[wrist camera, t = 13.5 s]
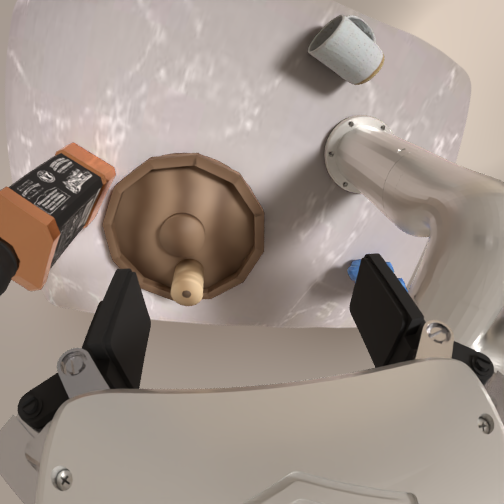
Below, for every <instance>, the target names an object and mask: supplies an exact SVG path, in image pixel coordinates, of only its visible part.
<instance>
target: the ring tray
mask: <svg viewBox="0 0 504 504" xmlns="http://www.w3.org/2000/svg"><path fill="white" fill-rule="evenodd" d="M103 228H104V232H105V236H106V240H107V243H108V247H109V250H110V254H111V257H112V260H113V262H114V263H115V264H116V265H117V266H118V267H119V268H120V269H127V268H130V269H131V270H132V272H136V274H137V278H138V281H139V285H140V288H142V289H144V290H147V291H149V292H152V293H155V294H157V295H160V296H162V297H165V298H168V299H170V300H173V298H172V297H171V287H172V282H173V277H174V272H175V267H176V265H177V263H178V262H180V261H181V260H183V259H194V260H197V261H198V262H200V263H201V264H202V266H203V268H204V284H203V297H202V299H212V298H214V297H216V296H218V295H220V294H221V293H223V292H225V291H227V290H229V289H231V288H233V287H235V286H237V285H239V284H241V283H243V282H244V281H245V279H246V278H247V276H248V275H249V273H250V272H251V270H252V269H253V267H254V266H255V264H256V263H257V261H258V260H259V258H260V257H261V255H262V254H263V252H264V211H263V208H262V207H261V205H260V203H259V202H258V200H257V199H256V197H255V195H254V193H253V192H252V190H251V188H250V187H249V186H248V184H247V183H246V182H245V180H244V179H243V177H242V176H241V174H240V173H239V172H237V171H235V170H232V169H231V168H230V167H228V166H227V165H225V164H223V163H221V162H220V161H217V160H215V159H212V158H210V157H207V156H203V155H201V154H199V153H173V154H167V155H163V156H158V157H151V158H149V159H148V160H147V161H145V162H144V163H143V164H141V165H140V166H139V167H137V168H136V169H134V170H133V171H132V172H131V173H130V174H129V175H127V176H126V177H125V178H124V179H122V180H121V181H120V182H119V183H117V185H116V186H115V187H114V189H113V192H112V195H111V198H110V201H109V204H108V208H107V211H106V214H105V217H104V221H103Z"/></svg>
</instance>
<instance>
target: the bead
mask: <svg viewBox="0 0 504 504" xmlns="http://www.w3.org/2000/svg"><path fill="white" fill-rule="evenodd" d="M203 284H204V268H203V266H202V264H201V263H200V262H198V261H197V260H194V259H183V260H181V261H180V262H178V263H177V265H176V267H175V272H174V277H173V282H172V287H171V297H172V298H173V300H174V301H175V302H177V303H178V304H180V305H184V306H192V305H196V304H197V303H199V302H200V301H201V300H202V297H203Z"/></svg>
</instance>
